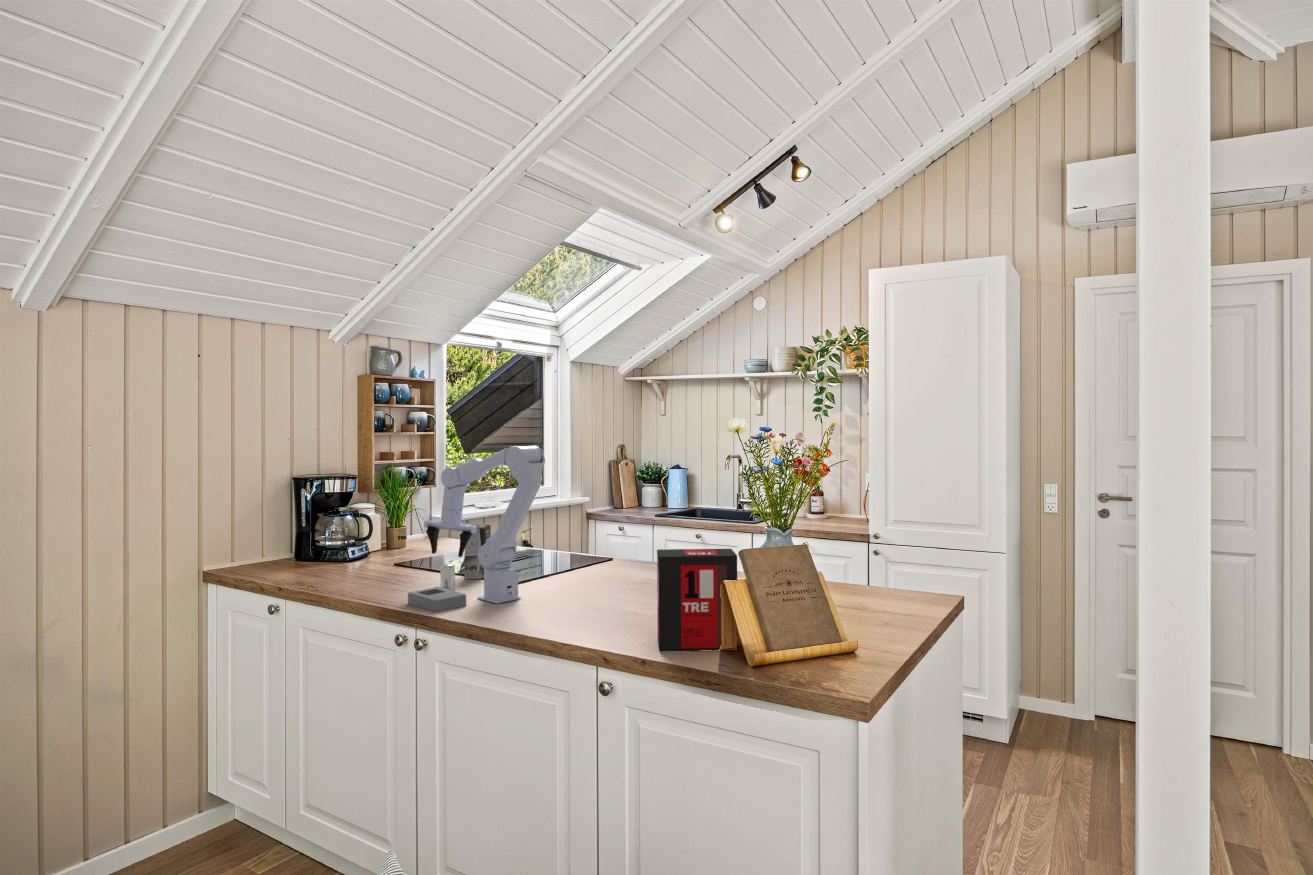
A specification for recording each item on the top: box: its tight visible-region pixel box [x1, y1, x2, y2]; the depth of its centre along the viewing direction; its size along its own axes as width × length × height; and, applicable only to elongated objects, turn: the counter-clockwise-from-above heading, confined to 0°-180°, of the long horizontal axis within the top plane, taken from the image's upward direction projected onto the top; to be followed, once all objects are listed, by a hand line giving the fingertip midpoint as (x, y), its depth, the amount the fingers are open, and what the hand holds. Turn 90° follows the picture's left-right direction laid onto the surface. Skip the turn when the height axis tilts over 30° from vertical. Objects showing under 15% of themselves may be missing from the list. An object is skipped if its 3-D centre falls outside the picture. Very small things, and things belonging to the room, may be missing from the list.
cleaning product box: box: [656, 548, 738, 652], centre depth 151 cm, size 16×9×20 cm, turn 92°
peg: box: [440, 563, 456, 591], centre depth 202 cm, size 4×4×8 cm
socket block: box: [407, 586, 467, 613], centre depth 188 cm, size 14×9×3 cm, turn 48°
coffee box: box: [464, 524, 492, 580], centre depth 225 cm, size 9×6×16 cm
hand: (447, 554), depth 202 cm, fingers open, 7 cm apart
